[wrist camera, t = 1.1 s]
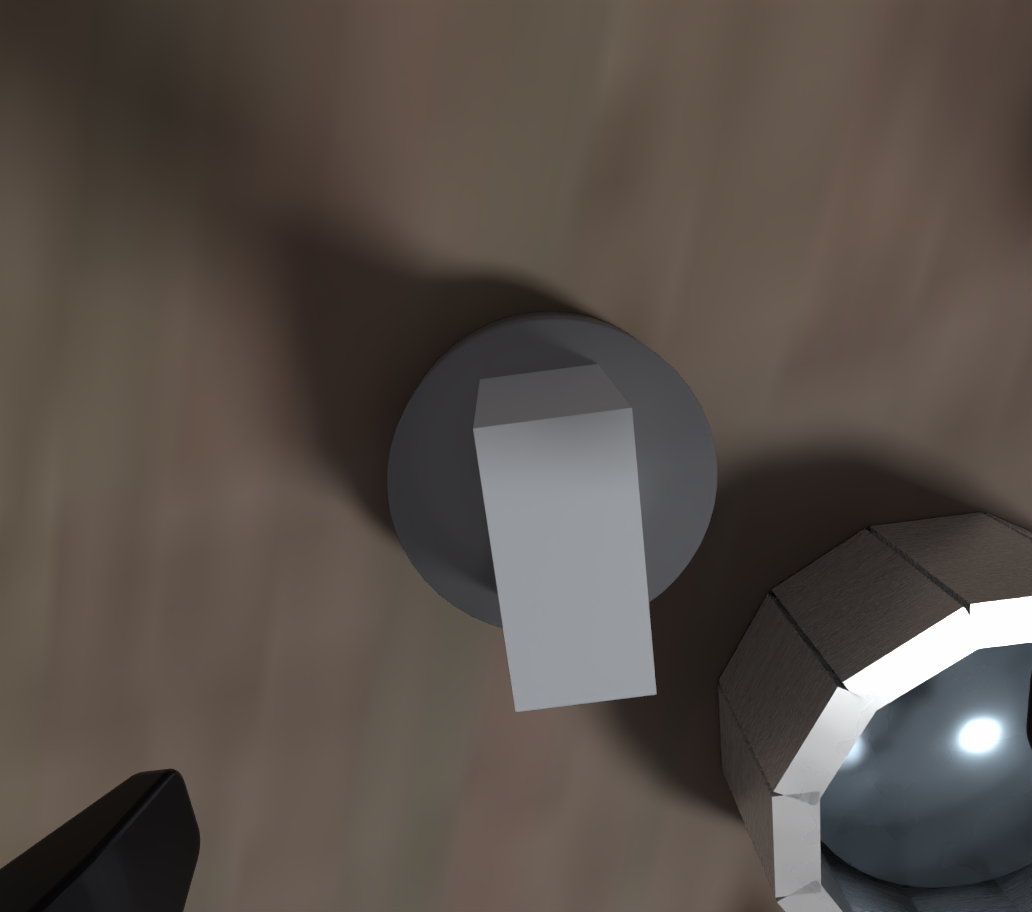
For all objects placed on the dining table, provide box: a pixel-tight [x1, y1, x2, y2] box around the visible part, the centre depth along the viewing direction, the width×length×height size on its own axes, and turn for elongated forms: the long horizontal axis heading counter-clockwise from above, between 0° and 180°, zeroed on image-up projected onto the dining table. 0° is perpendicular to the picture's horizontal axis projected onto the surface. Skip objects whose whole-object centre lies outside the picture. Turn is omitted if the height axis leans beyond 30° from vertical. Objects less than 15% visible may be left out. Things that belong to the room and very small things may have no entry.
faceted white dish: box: [718, 512, 1032, 912], centre depth 18 cm, size 11×11×4 cm
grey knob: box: [387, 311, 717, 712], centre depth 15 cm, size 7×7×6 cm
